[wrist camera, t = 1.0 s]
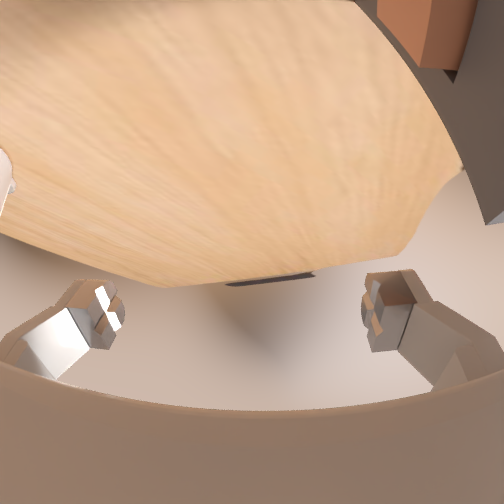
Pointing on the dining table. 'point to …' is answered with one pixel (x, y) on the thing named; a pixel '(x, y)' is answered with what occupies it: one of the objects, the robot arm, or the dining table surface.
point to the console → (470, 101)
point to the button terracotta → (430, 29)
